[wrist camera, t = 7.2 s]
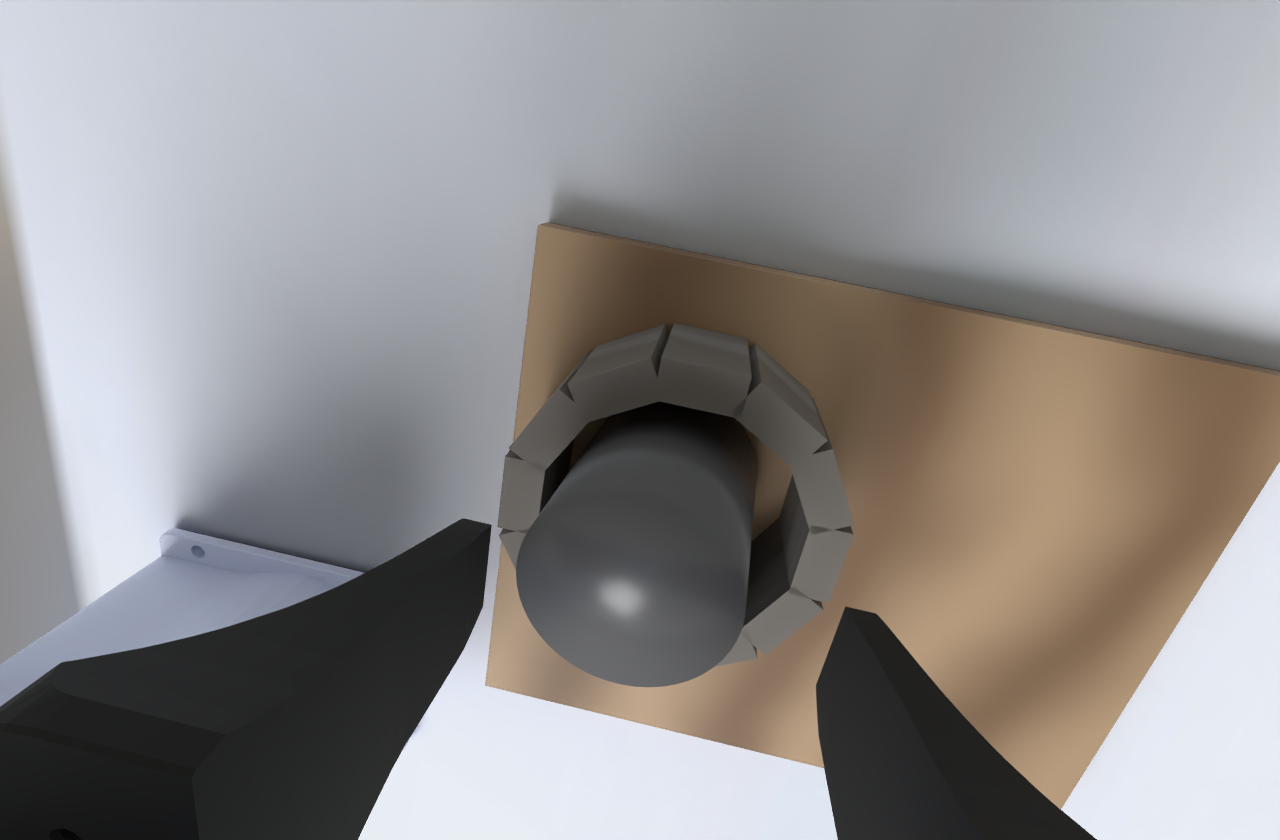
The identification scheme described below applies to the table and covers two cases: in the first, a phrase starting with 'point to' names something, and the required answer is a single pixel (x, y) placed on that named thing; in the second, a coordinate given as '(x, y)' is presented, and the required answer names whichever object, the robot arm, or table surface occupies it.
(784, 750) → the barrel mount
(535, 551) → the dark gray cylinder
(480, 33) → the table surface
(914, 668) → the robot arm
